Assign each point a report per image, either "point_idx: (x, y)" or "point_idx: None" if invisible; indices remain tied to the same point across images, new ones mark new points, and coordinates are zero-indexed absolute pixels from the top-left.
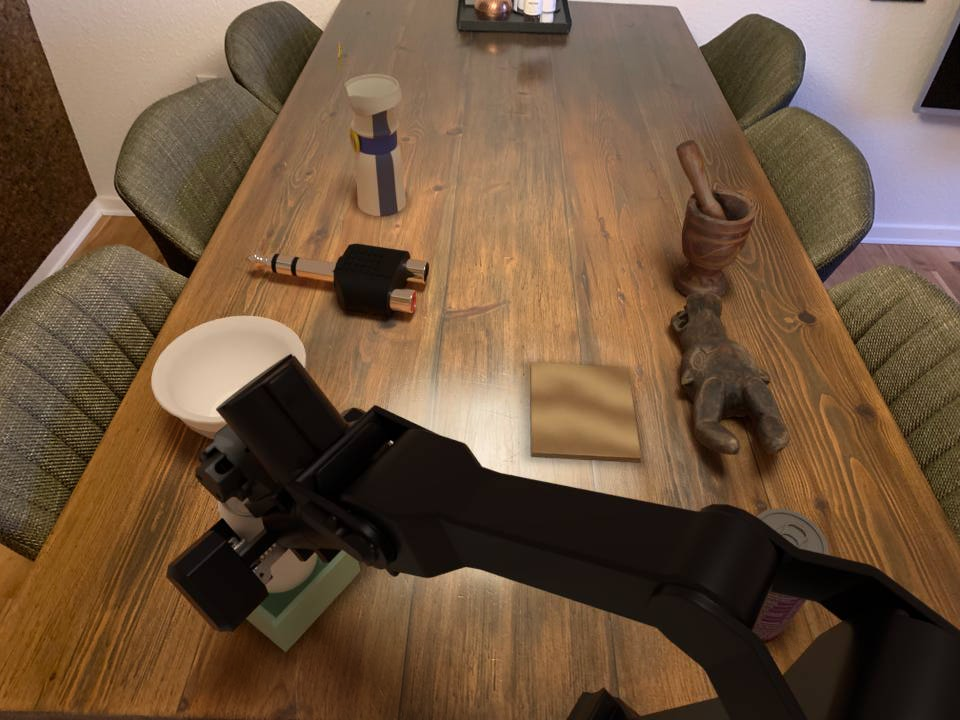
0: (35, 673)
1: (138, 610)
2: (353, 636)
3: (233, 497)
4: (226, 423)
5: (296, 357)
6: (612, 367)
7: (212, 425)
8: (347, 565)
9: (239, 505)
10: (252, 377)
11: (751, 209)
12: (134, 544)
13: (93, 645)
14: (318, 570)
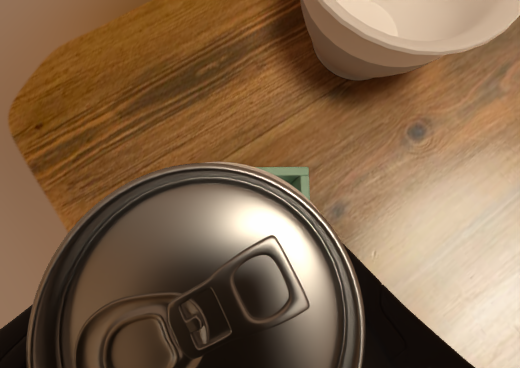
0: (31, 111)
1: (129, 135)
2: None
3: (114, 279)
4: (335, 23)
5: (502, 7)
6: None
7: (320, 10)
8: None
9: (98, 335)
10: (399, 1)
11: None
12: (175, 73)
13: (80, 130)
14: None
